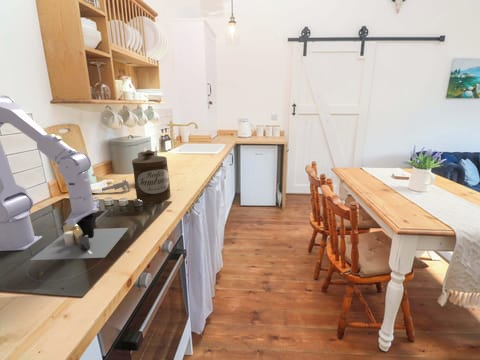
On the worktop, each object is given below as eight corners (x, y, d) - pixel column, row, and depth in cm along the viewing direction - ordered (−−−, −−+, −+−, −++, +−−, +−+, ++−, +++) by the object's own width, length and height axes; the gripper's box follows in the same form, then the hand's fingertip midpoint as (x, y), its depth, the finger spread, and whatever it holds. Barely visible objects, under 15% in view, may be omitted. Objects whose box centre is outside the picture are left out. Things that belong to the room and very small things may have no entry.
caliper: (130, 190, 133) (128, 178, 131) (129, 191, 132) (128, 179, 130) (85, 194, 128) (83, 182, 126) (84, 195, 127) (82, 182, 125)
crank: (63, 236, 84) (61, 223, 83) (79, 231, 87) (76, 219, 86) (78, 254, 73) (75, 240, 72) (95, 247, 76) (93, 234, 75)
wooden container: (141, 206, 111) (134, 154, 105) (133, 196, 123) (127, 149, 117) (175, 198, 119) (170, 150, 113) (164, 190, 131) (160, 146, 125)
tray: (64, 229, 91) (63, 222, 90) (81, 216, 102) (80, 210, 101) (96, 228, 91) (95, 221, 91) (110, 215, 102) (109, 209, 101)
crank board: (30, 263, 72) (26, 247, 70) (69, 232, 89) (66, 219, 87) (105, 260, 72) (102, 244, 71) (129, 230, 89) (127, 217, 88)
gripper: (81, 204, 69) (90, 249, 73) (106, 187, 83) (112, 226, 87) (54, 204, 69) (64, 250, 73) (83, 187, 83) (90, 227, 87)
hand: (89, 237), depth 80 cm, fingers closed, pressing on crank
